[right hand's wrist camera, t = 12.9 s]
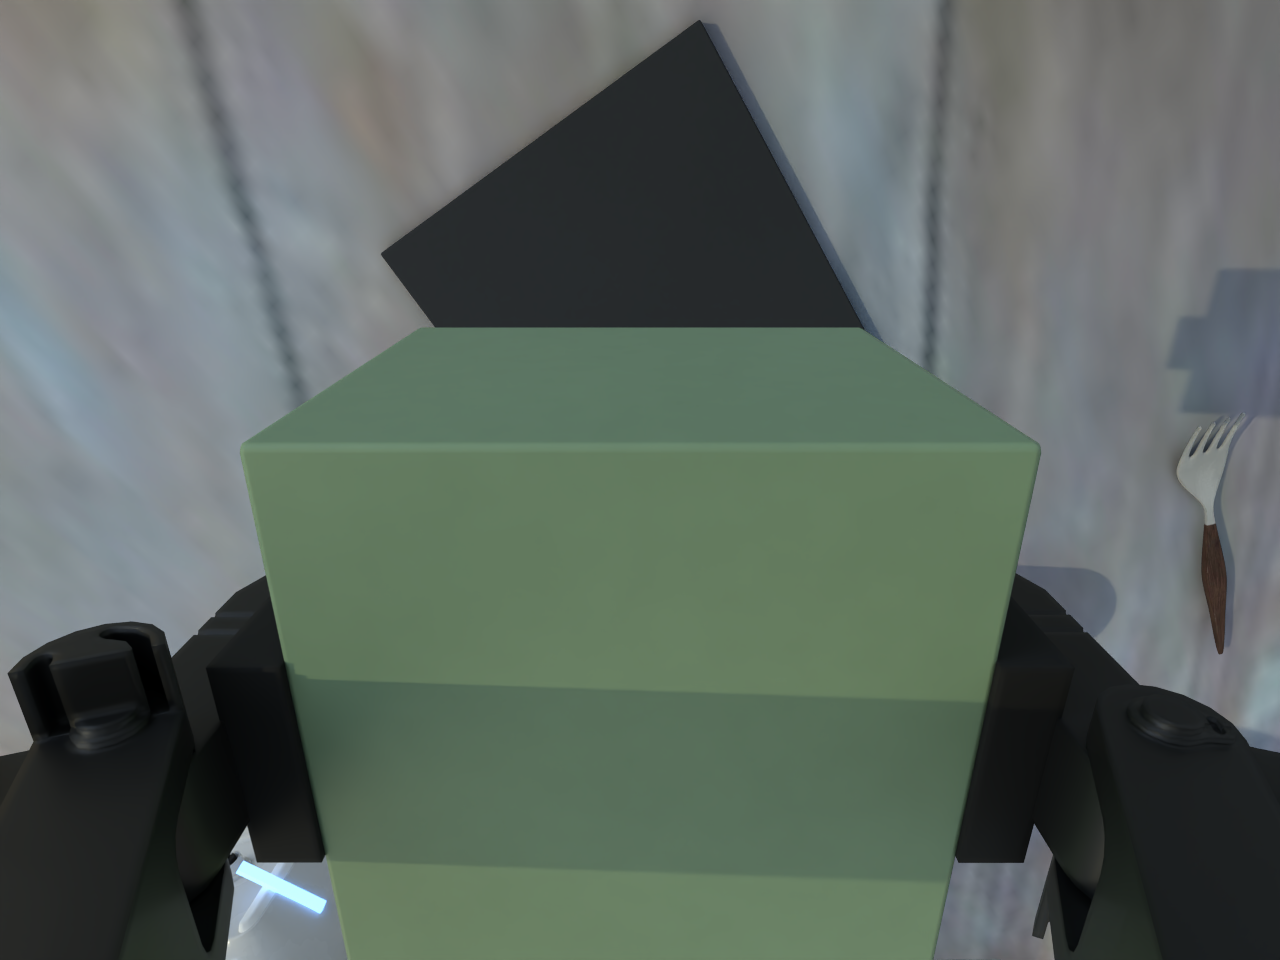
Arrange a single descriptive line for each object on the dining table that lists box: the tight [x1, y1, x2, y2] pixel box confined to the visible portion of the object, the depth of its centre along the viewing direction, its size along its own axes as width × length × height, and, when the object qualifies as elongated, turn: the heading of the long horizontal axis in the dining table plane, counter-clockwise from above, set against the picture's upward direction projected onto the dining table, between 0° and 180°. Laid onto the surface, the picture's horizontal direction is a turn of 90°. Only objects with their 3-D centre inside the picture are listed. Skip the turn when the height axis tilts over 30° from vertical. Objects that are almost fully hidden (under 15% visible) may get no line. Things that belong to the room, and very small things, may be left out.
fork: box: [1177, 413, 1245, 654], centre depth 41 cm, size 3×16×2 cm, turn 20°
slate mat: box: [381, 20, 864, 330], centre depth 37 cm, size 18×18×1 cm
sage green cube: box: [240, 328, 1041, 960], centre depth 11 cm, size 7×7×6 cm
